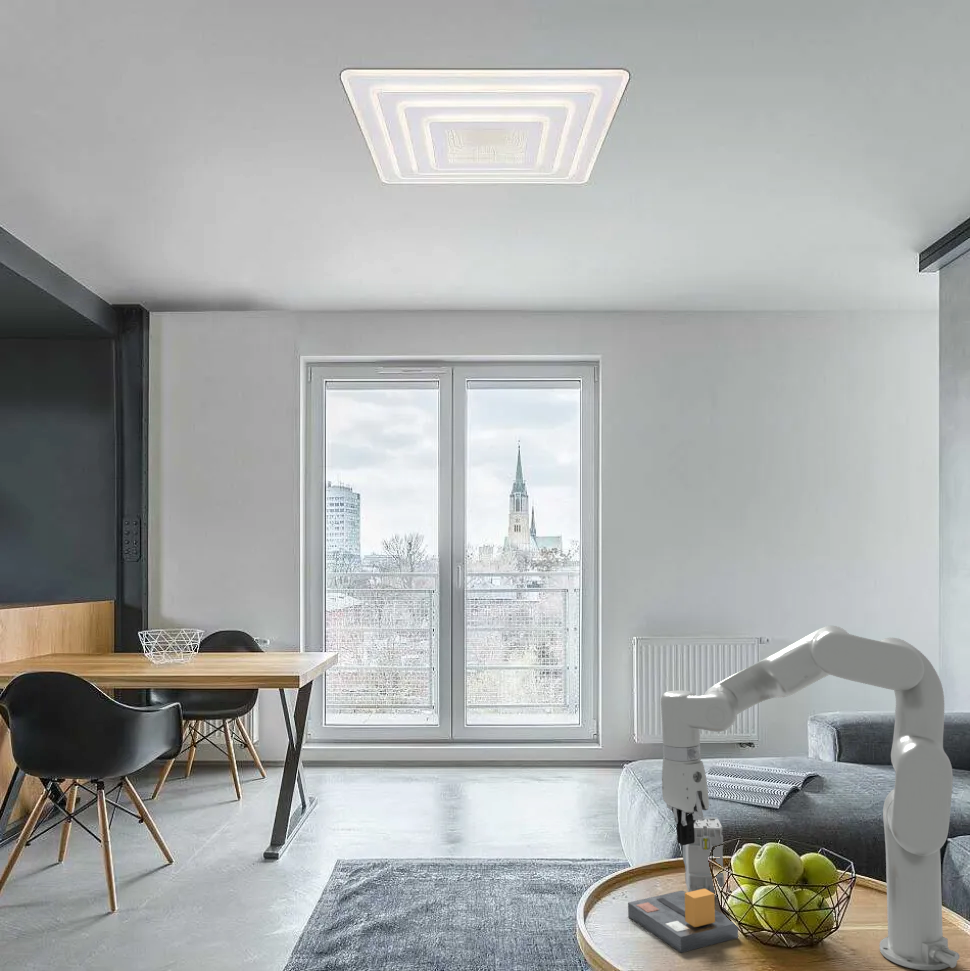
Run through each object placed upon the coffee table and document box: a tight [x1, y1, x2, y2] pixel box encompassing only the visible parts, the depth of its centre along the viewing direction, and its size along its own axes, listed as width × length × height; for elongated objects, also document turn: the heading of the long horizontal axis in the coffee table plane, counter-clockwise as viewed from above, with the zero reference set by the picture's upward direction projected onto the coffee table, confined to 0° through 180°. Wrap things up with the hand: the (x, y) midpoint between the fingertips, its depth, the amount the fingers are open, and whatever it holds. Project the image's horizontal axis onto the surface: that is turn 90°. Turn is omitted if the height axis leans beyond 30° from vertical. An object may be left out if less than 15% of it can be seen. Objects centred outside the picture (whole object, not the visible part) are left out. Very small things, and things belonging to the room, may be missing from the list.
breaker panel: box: [627, 890, 739, 954], centre depth 190 cm, size 18×14×3 cm
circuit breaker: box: [682, 816, 725, 896], centre depth 213 cm, size 8×14×15 cm, turn 174°
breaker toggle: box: [685, 888, 716, 927], centre depth 185 cm, size 3×5×6 cm, turn 115°
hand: (686, 842), depth 190 cm, fingers closed
